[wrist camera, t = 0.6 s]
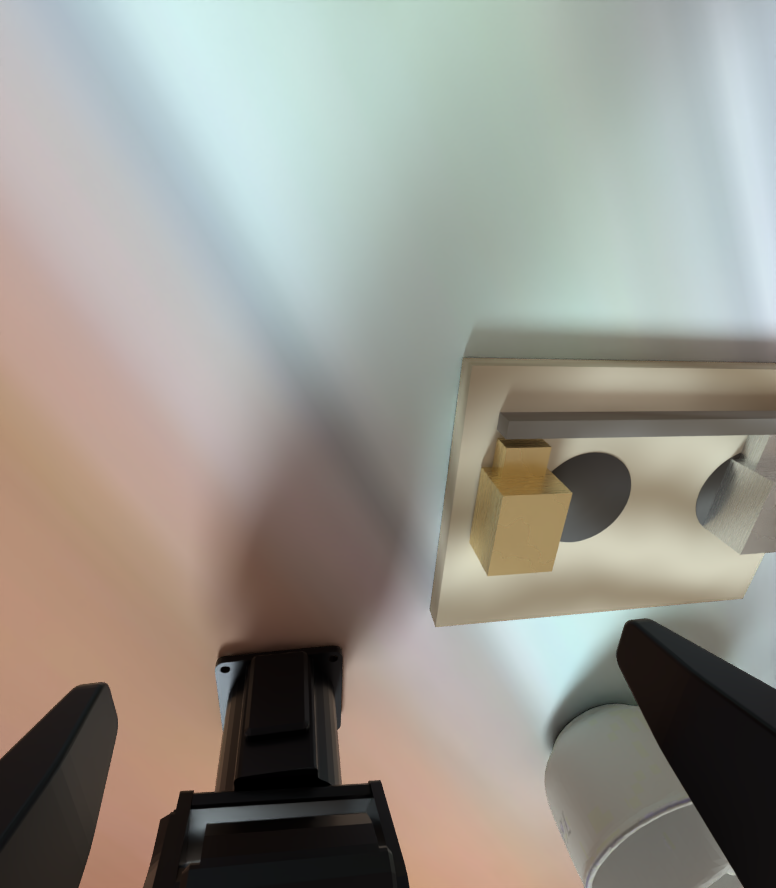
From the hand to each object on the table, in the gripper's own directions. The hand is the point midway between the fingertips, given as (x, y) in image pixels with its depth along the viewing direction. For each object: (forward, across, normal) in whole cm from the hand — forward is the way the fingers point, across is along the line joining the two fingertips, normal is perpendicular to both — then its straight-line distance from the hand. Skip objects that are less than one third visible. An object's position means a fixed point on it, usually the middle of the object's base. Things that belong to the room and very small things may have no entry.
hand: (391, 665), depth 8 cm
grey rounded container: (+14, -20, +26) cm, 35 cm away
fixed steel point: (+12, -21, +4) cm, 24 cm away
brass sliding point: (+12, -8, +4) cm, 15 cm away
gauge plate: (+13, -15, +5) cm, 20 cm away
